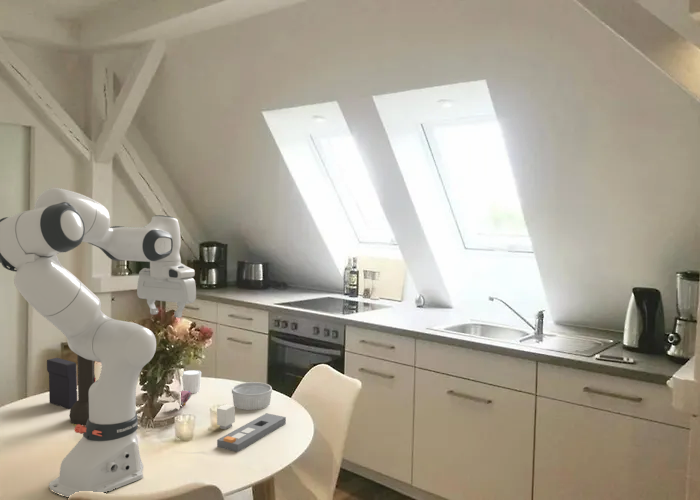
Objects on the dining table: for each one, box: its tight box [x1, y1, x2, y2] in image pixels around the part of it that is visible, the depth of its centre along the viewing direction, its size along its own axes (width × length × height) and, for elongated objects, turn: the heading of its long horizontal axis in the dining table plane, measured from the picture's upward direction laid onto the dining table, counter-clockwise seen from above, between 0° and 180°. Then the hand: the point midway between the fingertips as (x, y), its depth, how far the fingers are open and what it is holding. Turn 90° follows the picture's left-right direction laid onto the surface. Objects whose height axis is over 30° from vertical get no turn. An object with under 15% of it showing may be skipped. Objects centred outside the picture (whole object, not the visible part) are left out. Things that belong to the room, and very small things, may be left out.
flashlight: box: [69, 354, 96, 426], centre depth 192 cm, size 10×25×10 cm
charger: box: [216, 403, 236, 430], centre depth 185 cm, size 4×3×7 cm
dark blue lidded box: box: [46, 357, 78, 410], centre depth 206 cm, size 11×4×15 cm, turn 58°
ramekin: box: [231, 381, 273, 411], centre depth 206 cm, size 13×13×7 cm
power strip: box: [216, 413, 287, 453], centre depth 180 cm, size 24×7×4 cm, turn 154°
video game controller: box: [180, 390, 192, 407], centre depth 205 cm, size 10×5×7 cm, turn 169°
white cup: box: [181, 369, 202, 394], centre depth 223 cm, size 7×7×7 cm
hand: (166, 315), depth 186 cm, fingers open, 8 cm apart
